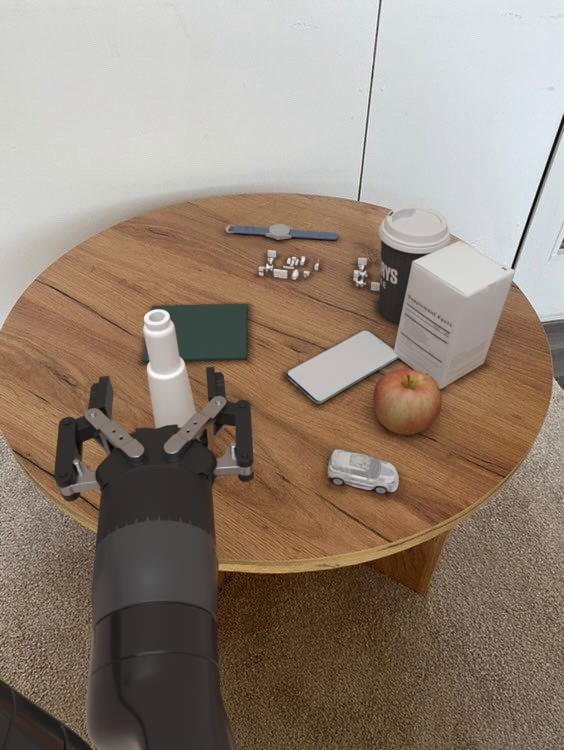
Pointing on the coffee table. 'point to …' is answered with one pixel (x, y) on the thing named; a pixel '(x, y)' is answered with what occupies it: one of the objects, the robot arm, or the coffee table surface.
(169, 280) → the coffee table surface
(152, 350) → the cosmetic bottle
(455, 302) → the white product box
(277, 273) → the miniature furniture
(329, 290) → the coffee table surface
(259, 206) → the coffee table surface
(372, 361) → the smartphone
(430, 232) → the coffee cup
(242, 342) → the mat
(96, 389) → the robot arm
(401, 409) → the apple
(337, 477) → the toy car
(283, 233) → the wristwatch
